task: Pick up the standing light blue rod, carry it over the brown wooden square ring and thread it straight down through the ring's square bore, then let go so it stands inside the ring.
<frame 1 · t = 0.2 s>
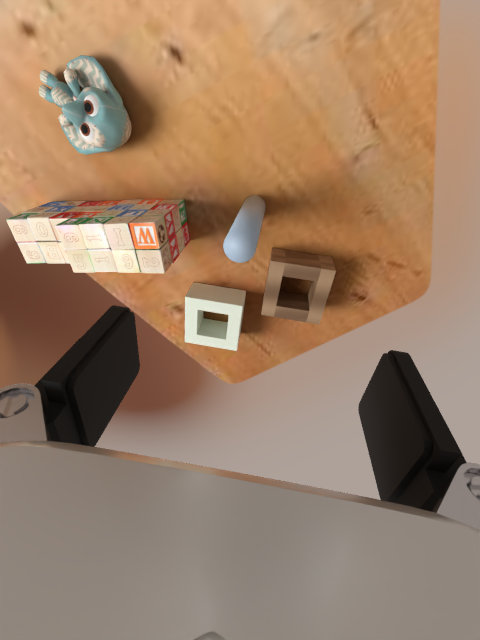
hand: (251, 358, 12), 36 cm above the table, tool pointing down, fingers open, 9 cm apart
white square hollow block: (218, 308, 53), on the table
teal cartoon creature figurine: (95, 109, 39), on the table
light blue rod: (254, 206, 43), on the table
stack of blocks: (122, 220, 47), on the table
brown wooden square ring: (295, 279, 48), on the table
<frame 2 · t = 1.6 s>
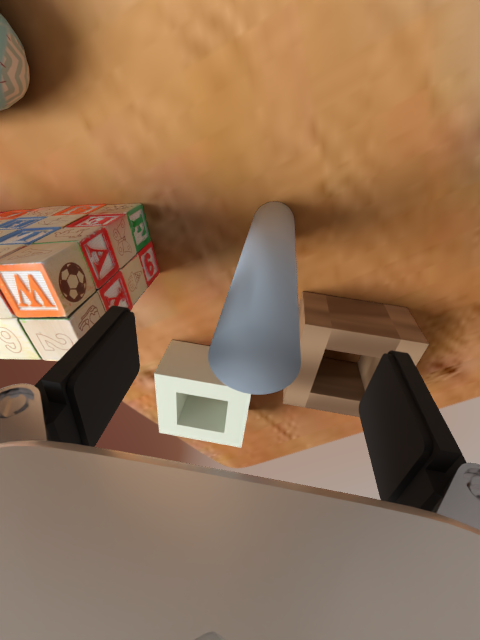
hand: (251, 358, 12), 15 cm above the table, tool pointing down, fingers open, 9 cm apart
white square hollow block: (211, 377, 34), on the table
light blue rod: (273, 222, 23), on the table
stack of blocks: (44, 242, 28), on the table
brown wooden square ring: (339, 339, 29), on the table
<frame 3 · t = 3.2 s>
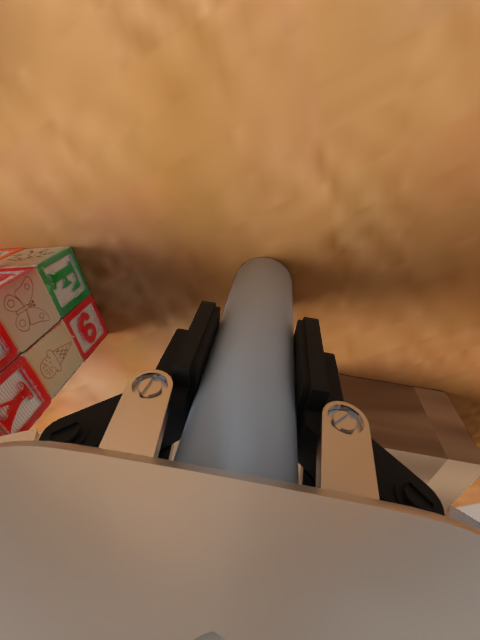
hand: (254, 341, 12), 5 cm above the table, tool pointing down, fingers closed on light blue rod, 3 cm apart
light blue rod: (262, 284, 17), on the table, touching gripper
brown wooden square ring: (352, 424, 22), on the table
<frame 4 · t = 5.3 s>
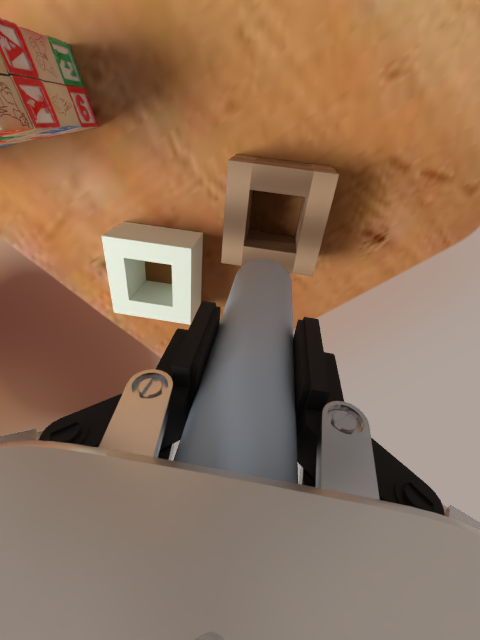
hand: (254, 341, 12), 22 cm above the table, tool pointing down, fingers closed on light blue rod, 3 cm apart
white square hollow block: (164, 264, 36), on the table
light blue rod: (262, 286, 17), point 17 cm above the table, touching gripper
brown wooden square ring: (275, 209, 31), on the table
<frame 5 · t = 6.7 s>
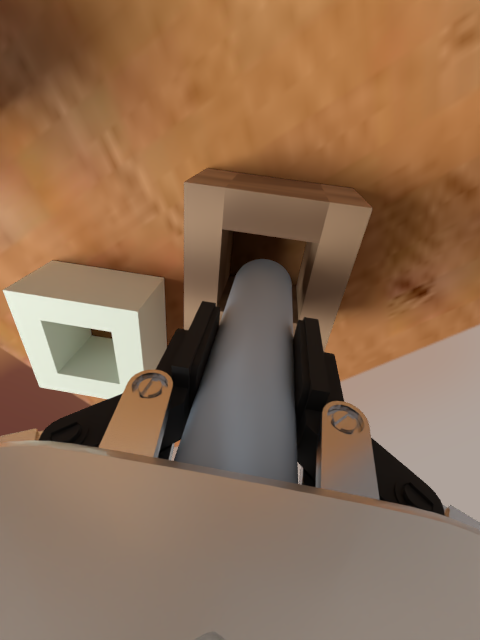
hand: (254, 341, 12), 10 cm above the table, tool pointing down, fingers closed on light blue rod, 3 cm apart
white square hollow block: (115, 316, 26), on the table
light blue rod: (262, 286, 17), point 5 cm above the table, touching gripper
brown wooden square ring: (267, 248, 21), on the table
when the fingers open (7 cm above the table, at t = 7.6 s): light blue rod drops 1 cm, resting in brown wooden square ring.
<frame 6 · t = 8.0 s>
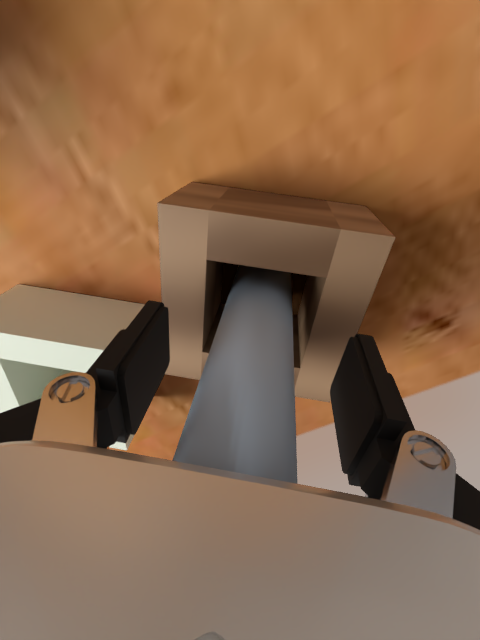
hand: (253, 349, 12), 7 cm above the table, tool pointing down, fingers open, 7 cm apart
white square hollow block: (92, 345, 23), on the table
light blue rod: (264, 274, 18), resting in brown wooden square ring
brown wooden square ring: (264, 273, 18), on the table
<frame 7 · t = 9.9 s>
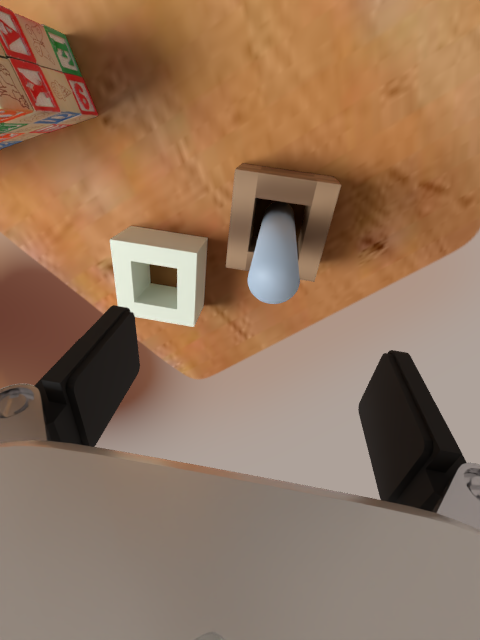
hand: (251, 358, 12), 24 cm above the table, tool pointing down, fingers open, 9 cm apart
white square hollow block: (169, 268, 37), on the table
light blue rod: (278, 216, 32), resting in brown wooden square ring
brown wooden square ring: (279, 216, 32), on the table
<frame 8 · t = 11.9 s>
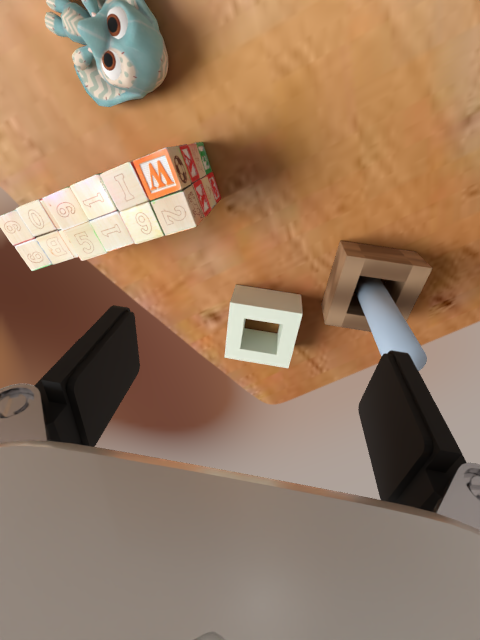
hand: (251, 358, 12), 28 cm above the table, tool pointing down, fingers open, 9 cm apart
white square hollow block: (263, 316, 44), on the table
teal cartoon creature figurine: (118, 45, 30), on the table
light blue rod: (364, 280, 39), resting in brown wooden square ring
stack of blocks: (134, 197, 37), on the table
brown wooden square ring: (365, 279, 39), on the table
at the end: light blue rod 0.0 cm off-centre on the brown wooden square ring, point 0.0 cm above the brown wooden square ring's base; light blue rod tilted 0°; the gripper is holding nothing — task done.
